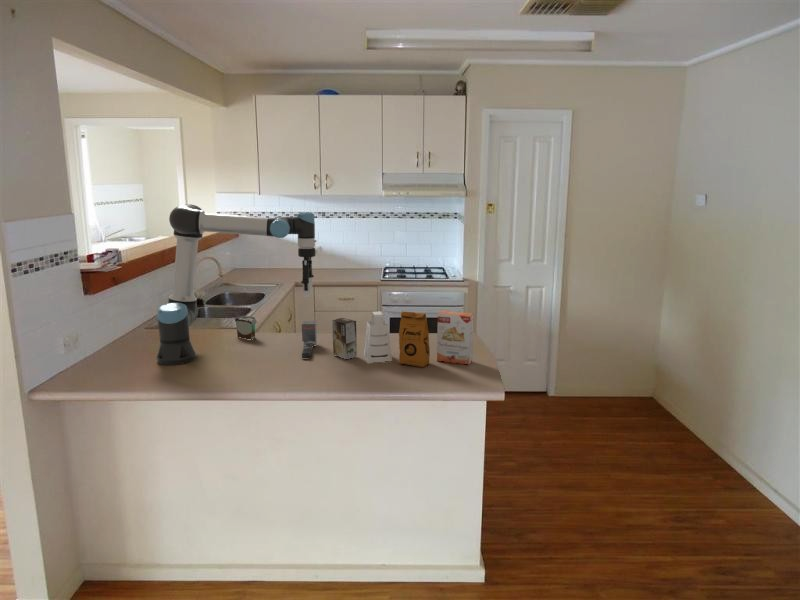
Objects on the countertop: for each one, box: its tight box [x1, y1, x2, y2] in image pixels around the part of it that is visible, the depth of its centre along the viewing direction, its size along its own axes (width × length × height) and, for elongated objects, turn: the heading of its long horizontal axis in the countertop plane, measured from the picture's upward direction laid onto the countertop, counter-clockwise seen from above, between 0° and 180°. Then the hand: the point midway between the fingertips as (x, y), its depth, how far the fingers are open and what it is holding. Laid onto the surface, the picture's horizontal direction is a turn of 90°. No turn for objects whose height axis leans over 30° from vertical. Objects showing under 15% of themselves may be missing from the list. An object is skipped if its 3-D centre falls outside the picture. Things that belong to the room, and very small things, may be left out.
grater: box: [363, 310, 393, 364], centre depth 235 cm, size 10×10×20 cm
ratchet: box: [301, 339, 318, 359], centre depth 247 cm, size 22×6×8 cm, turn 4°
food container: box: [234, 315, 258, 341], centre depth 268 cm, size 12×6×10 cm, turn 58°
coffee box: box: [331, 317, 358, 360], centre depth 238 cm, size 9×6×16 cm
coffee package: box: [398, 311, 431, 368], centre depth 228 cm, size 10×12×22 cm
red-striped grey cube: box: [301, 320, 318, 342], centre depth 255 cm, size 6×6×8 cm
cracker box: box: [436, 310, 474, 366], centre depth 231 cm, size 14×6×21 cm, turn 68°
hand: (308, 294), depth 251 cm, fingers open, 13 cm apart
